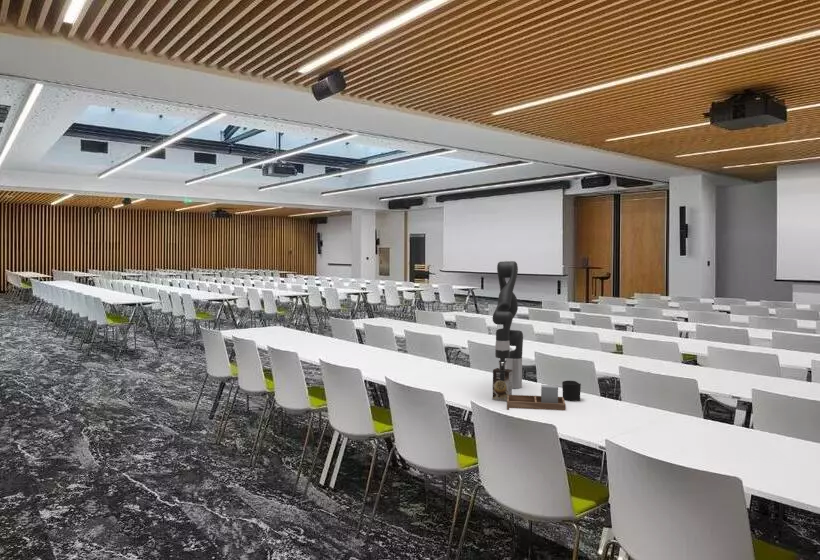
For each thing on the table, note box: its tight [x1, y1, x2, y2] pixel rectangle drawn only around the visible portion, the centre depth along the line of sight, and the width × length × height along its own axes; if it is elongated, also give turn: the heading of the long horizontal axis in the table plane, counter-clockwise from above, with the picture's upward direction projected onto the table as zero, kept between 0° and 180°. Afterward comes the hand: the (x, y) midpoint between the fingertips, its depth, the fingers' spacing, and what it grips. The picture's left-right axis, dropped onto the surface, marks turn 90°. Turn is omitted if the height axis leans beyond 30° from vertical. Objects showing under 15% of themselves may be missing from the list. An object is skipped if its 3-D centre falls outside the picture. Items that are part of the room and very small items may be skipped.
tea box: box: [540, 384, 559, 404], centre depth 295 cm, size 5×8×10 cm, turn 80°
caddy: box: [506, 394, 567, 411], centre depth 296 cm, size 15×28×4 cm, turn 80°
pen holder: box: [561, 380, 582, 402], centre depth 307 cm, size 9×9×10 cm
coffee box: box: [492, 367, 513, 402], centre depth 312 cm, size 9×6×16 cm
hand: (502, 378), depth 311 cm, fingers open, 7 cm apart
